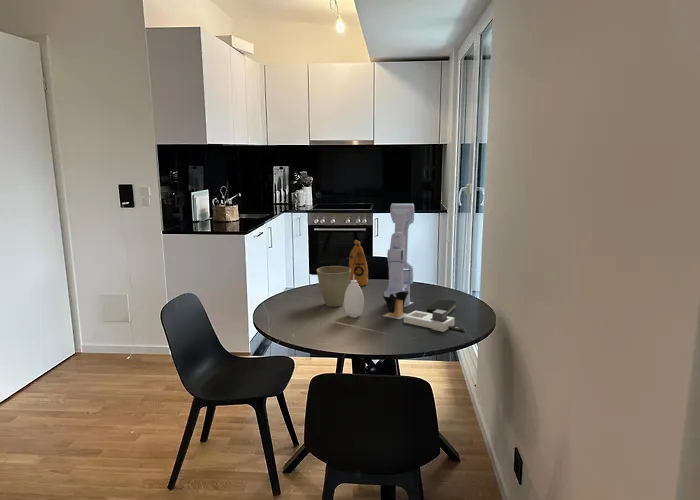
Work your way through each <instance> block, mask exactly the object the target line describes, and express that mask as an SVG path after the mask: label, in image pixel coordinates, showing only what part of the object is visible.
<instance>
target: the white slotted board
mask: <svg viewBox="0 0 700 500" xmlns="http://www.w3.org/2000/svg"><path fill="white" fill-rule="evenodd" d="M406 314H407V315H405V316H404V317H403V323H405V324H410V325H414V326H418V327H419V326H420V327H424V328H429V329H431V330H434V331H437V332H438V331H439V332H446V331H447V330H449V329H450V330H454V331H455V330H456V331H459V332H465V330H466V329H465V328H461V327H457V326H455V318H456V317H452V316H448V315H447V320H446V321H444V322H440V321H434V320H432V314H431V313H427V311H426V312H425V311H419V310H414V311H412V312H409V313H406Z"/></svg>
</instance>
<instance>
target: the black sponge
mask: <svg viewBox="0 0 700 500" xmlns="http://www.w3.org/2000/svg"><path fill="white" fill-rule="evenodd" d="M456 303H457V302H456V300H453V299H438V300H436V301H434V303H432V304H431V305H429V307H426V313H431V314H432V313H433V311H435V310H437V309H438V310H443V311H447V315H449V314H450V313H451V312H452V311H453V310H454V309H455V308H456Z"/></svg>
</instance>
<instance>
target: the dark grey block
mask: <svg viewBox="0 0 700 500" xmlns="http://www.w3.org/2000/svg"><path fill="white" fill-rule="evenodd" d="M447 316H448V314H447V311H443V310H438V309H437V310H435V311H433V313H432V320H434V321H440V322H444V321H446V320H447Z"/></svg>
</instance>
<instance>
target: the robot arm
mask: <svg viewBox="0 0 700 500" xmlns="http://www.w3.org/2000/svg"><path fill="white" fill-rule="evenodd" d="M389 210H390V211H389V213H390V217H391V221H392V223H393V224H394V233H392V234H391V238H390V243H389V244H390V245H389V249H388V250H387V252H386V253H387V254H386V255H387V267H388V286H387V290H385V291H384V292H383V299H384V300H385V303H386V306H387V310H388V313H389V312H390V313H394V311H395V303H396V300H397V299H398V300H403V308H405V307H408V306H410V305H413V304H414V303H415V302H413V301H411V299H410V297H411V285H412V284H413V283H414V268H413V265H411V264H410V263H409V261H408V243H409V229H410V225H412V224H414V221H415V204H414V203H393V202H392V203H391V204H390V209H389Z"/></svg>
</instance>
